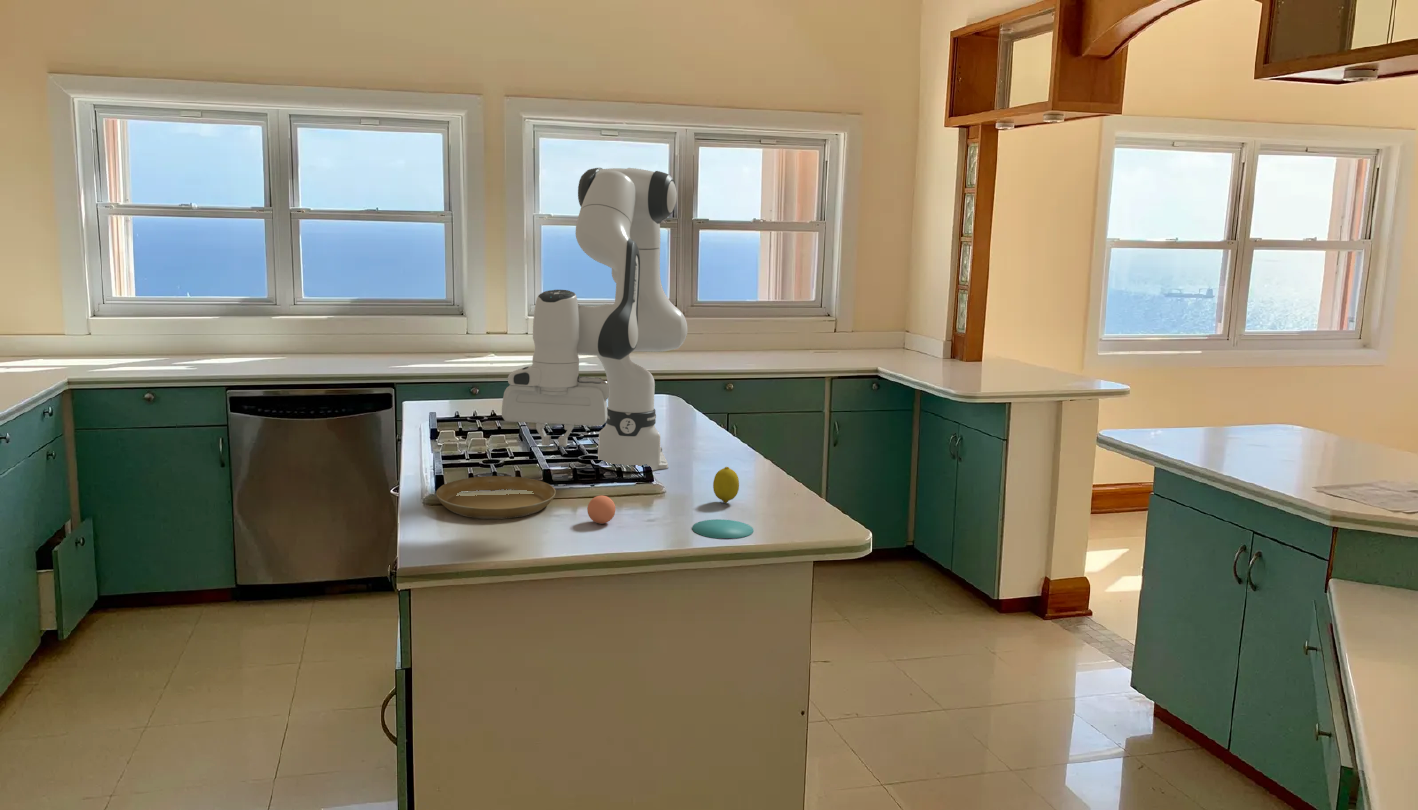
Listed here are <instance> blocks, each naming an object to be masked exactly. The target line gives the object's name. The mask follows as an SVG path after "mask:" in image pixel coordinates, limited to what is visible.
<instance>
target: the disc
mask: <svg viewBox="0 0 1418 810" xmlns="http://www.w3.org/2000/svg"><path fill="white" fill-rule="evenodd" d="M692 531H693V532H694V533H696V534H697V535H699V536H703V537H707V538H713V539H718V538H736V539H742V537H743V538H747V537H749V536H751V535H752V534H753V533H754V528H753V526H751V525H749V524H748V523H745V522H742V521H738V520H732V519H705V520H701V521H698V522H695V523H694V524H693V525H692Z"/></svg>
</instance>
